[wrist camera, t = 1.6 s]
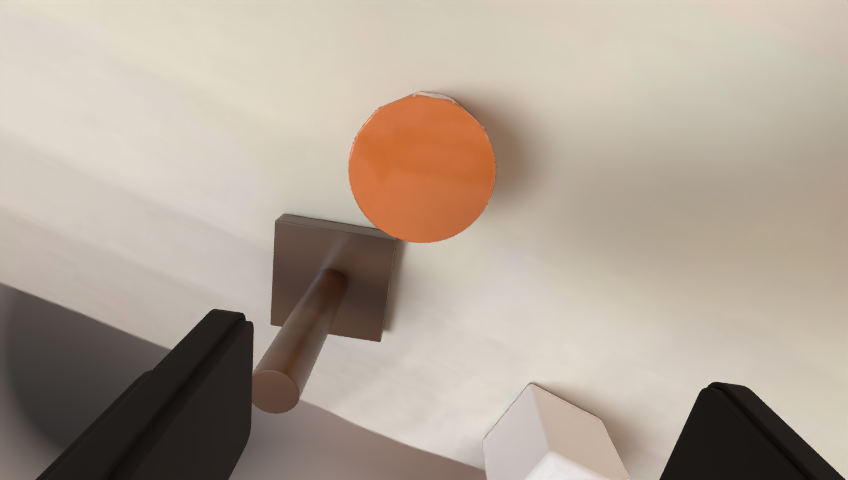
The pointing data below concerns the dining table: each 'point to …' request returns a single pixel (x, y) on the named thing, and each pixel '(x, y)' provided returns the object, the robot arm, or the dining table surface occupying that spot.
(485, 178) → the cup
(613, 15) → the dining table surface
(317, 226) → the stand
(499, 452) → the medicine bottle
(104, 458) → the robot arm
